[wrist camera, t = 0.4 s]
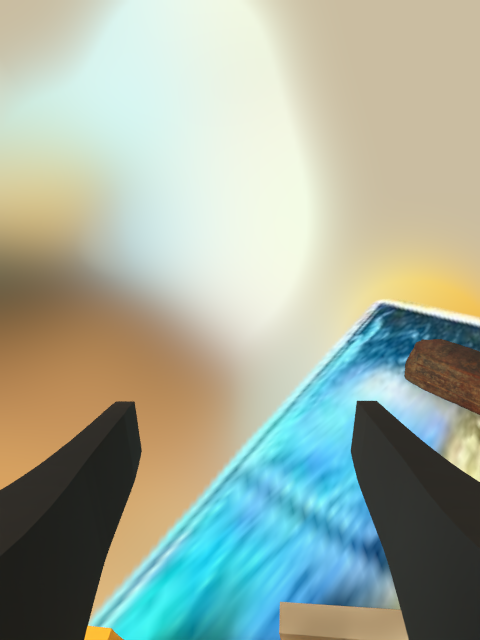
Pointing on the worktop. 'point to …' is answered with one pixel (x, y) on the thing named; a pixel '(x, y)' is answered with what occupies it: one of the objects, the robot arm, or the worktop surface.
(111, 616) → the worktop surface
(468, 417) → the worktop surface
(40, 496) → the robot arm
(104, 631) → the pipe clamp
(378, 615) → the wooden open tray
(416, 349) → the brick
